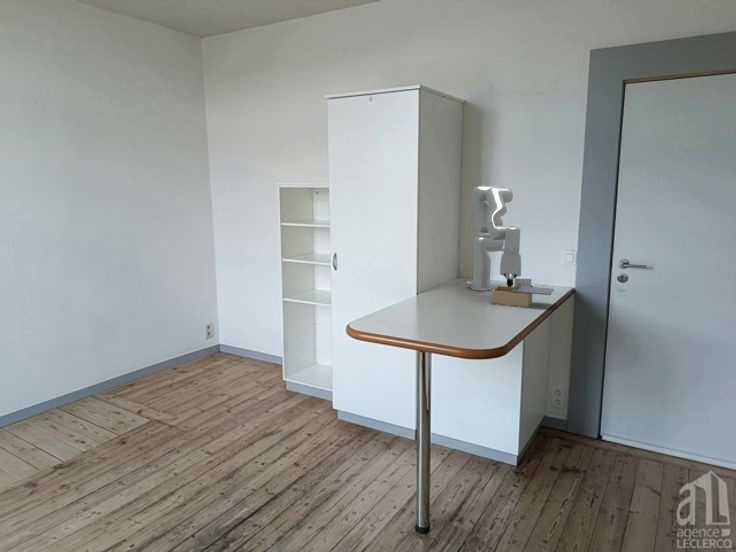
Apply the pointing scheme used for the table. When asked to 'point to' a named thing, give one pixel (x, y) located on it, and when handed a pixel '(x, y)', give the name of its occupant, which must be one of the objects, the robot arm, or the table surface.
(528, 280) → the small box
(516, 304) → the tray
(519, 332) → the table surface
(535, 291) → the lid
